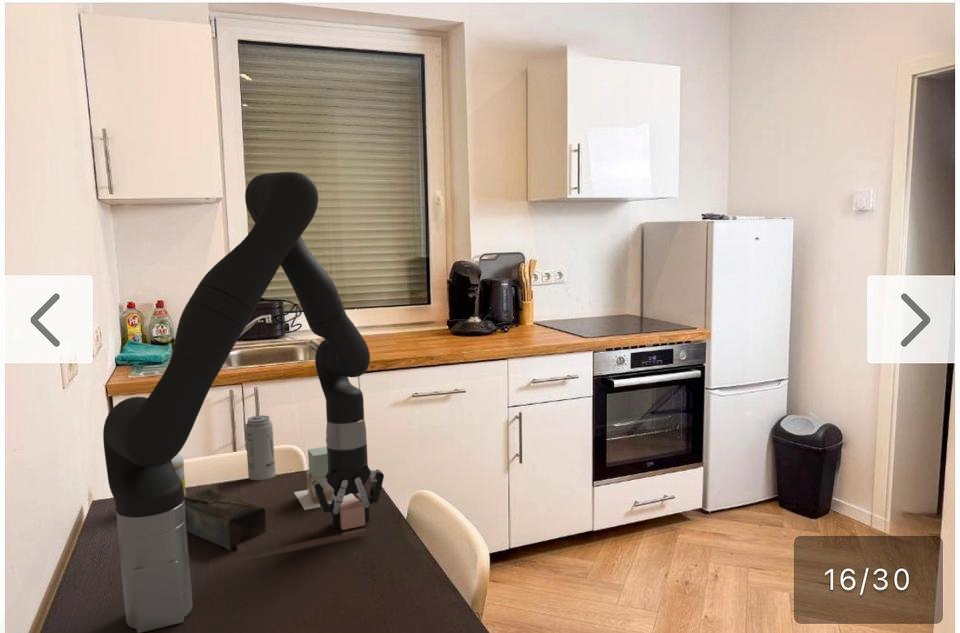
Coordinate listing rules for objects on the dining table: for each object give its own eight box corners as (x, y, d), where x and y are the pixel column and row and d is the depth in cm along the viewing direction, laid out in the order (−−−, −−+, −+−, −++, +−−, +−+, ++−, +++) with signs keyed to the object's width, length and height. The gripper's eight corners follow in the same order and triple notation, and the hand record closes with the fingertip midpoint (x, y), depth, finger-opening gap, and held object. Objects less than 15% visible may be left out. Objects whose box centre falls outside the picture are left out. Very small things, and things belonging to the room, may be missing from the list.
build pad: (357, 504, 145) (357, 499, 145) (304, 515, 140) (304, 509, 140) (343, 488, 155) (343, 483, 154) (294, 497, 150) (293, 492, 150)
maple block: (342, 497, 146) (341, 475, 145) (314, 503, 143) (312, 480, 143) (335, 488, 151) (334, 466, 150) (307, 493, 148) (306, 471, 148)
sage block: (338, 474, 145) (336, 452, 145) (314, 479, 143) (313, 455, 143) (332, 468, 150) (330, 445, 149) (309, 471, 148) (307, 449, 147)
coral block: (365, 531, 132) (364, 506, 131) (342, 536, 130) (341, 510, 129) (358, 522, 136) (357, 498, 135) (336, 527, 134) (335, 502, 133)
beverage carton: (213, 515, 142) (211, 484, 141) (269, 538, 130) (267, 505, 129) (176, 528, 136) (173, 496, 135) (231, 554, 124) (229, 519, 123)
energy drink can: (274, 483, 158) (270, 420, 157) (247, 486, 157) (243, 422, 155) (276, 475, 164) (272, 414, 162) (250, 477, 163) (246, 415, 161)
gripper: (313, 453, 124) (318, 543, 126) (388, 441, 131) (392, 527, 133) (304, 442, 131) (309, 528, 133) (376, 431, 137) (380, 513, 139)
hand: (350, 527), depth 133 cm, fingers closed on coral block, 4 cm apart
